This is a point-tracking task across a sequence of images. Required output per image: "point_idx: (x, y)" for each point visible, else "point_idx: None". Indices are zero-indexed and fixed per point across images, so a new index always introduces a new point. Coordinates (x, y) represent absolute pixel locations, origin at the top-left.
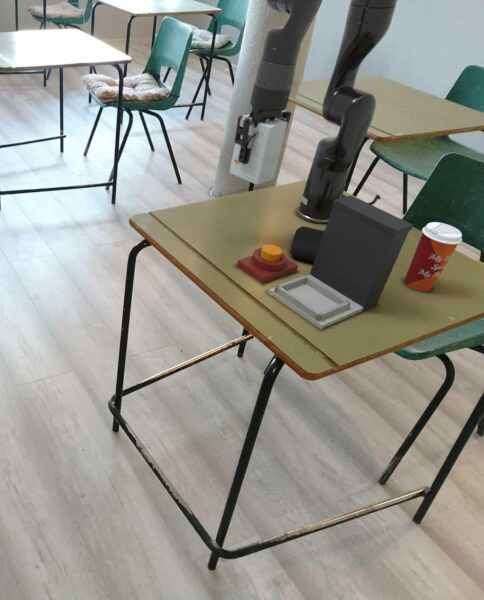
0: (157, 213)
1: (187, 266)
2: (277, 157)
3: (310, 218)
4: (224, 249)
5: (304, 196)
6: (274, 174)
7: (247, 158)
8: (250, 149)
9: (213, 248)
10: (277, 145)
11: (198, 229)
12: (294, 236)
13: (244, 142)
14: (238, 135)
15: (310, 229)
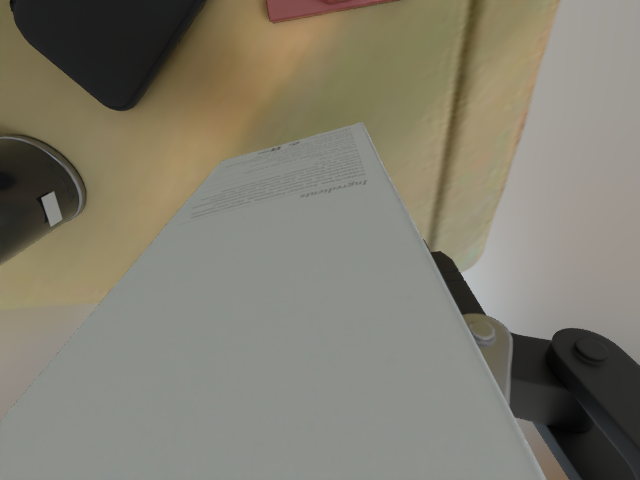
0: None
1: (537, 52)
2: (190, 213)
3: (59, 160)
4: (377, 102)
5: (45, 217)
6: (216, 167)
7: None
8: None
9: (401, 117)
10: (192, 272)
11: None
12: (156, 70)
13: (610, 367)
14: (617, 467)
15: (90, 70)
